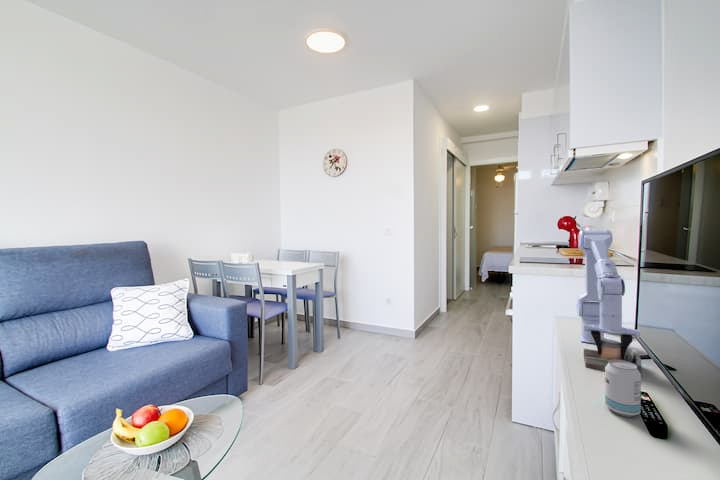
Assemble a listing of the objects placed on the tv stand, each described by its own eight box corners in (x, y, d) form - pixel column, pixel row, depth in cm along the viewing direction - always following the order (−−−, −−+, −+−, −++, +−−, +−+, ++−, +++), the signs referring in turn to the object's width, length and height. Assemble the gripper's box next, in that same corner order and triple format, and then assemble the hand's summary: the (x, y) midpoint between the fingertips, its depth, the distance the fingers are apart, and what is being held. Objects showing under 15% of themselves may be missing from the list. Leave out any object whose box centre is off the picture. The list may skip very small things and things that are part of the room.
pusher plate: (624, 360, 107) (624, 348, 106) (628, 361, 106) (628, 349, 106) (627, 367, 102) (627, 355, 101) (631, 368, 101) (631, 355, 101)
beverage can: (605, 400, 86) (605, 356, 86) (640, 409, 82) (640, 362, 81) (604, 412, 81) (604, 365, 80) (641, 422, 76) (641, 373, 76)
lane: (583, 356, 114) (583, 342, 114) (635, 363, 107) (635, 348, 107) (585, 367, 106) (585, 352, 105) (641, 376, 98) (641, 360, 98)
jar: (599, 355, 110) (599, 338, 110) (620, 359, 107) (620, 341, 107) (600, 361, 105) (600, 343, 105) (622, 365, 102) (622, 346, 102)
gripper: (584, 314, 106) (584, 355, 106) (642, 320, 98) (642, 364, 99) (582, 309, 112) (583, 348, 113) (637, 314, 104) (637, 355, 105)
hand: (610, 355), depth 106 cm, fingers closed on jar, 5 cm apart
